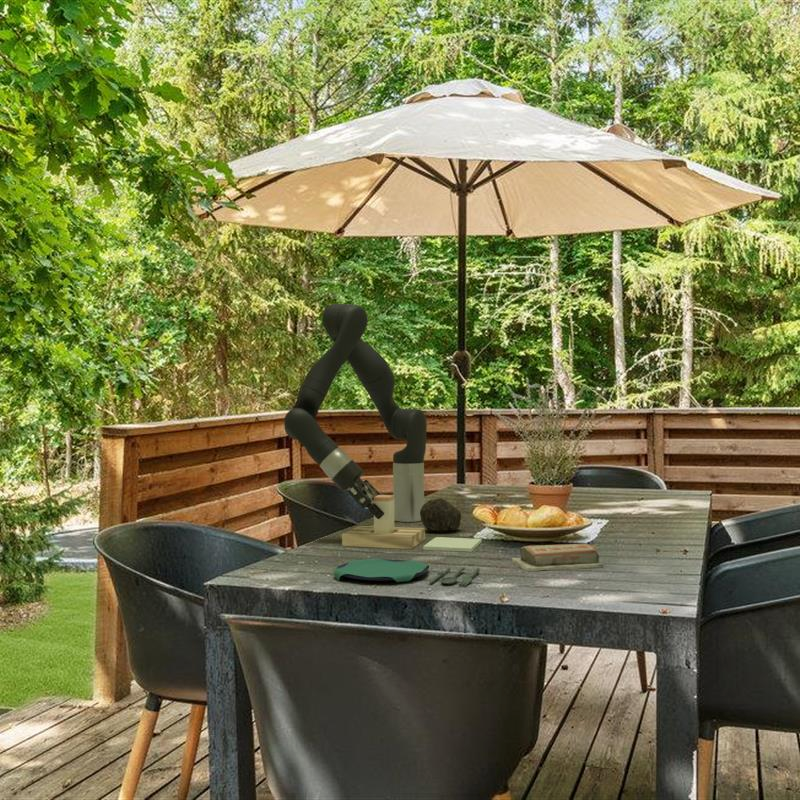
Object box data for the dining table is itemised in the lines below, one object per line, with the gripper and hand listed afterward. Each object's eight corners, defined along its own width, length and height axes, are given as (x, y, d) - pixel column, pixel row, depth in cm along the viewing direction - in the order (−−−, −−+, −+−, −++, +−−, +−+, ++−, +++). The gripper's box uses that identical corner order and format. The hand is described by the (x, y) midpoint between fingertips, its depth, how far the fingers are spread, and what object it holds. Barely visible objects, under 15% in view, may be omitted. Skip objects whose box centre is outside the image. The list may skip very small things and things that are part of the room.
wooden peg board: (359, 537, 245) (359, 525, 245) (424, 539, 240) (424, 528, 240) (342, 545, 231) (342, 534, 231) (411, 549, 227) (411, 536, 227)
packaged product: (584, 540, 213) (604, 547, 203) (584, 561, 213) (604, 569, 203) (511, 543, 208) (527, 551, 199) (511, 565, 209) (527, 573, 199)
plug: (379, 541, 239) (379, 494, 239) (394, 541, 238) (394, 495, 238) (373, 544, 234) (373, 497, 234) (389, 544, 233) (388, 497, 233)
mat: (436, 540, 239) (436, 537, 239) (481, 542, 236) (481, 538, 236) (423, 549, 226) (423, 546, 226) (471, 551, 223) (471, 548, 223)
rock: (467, 526, 257) (462, 491, 256) (452, 537, 247) (447, 501, 246) (434, 527, 261) (429, 493, 261) (418, 539, 251) (413, 503, 250)
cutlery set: (355, 565, 209) (354, 555, 208) (484, 573, 199) (484, 563, 199) (320, 583, 190) (320, 572, 190) (462, 593, 180) (462, 581, 180)
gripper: (344, 461, 230) (389, 508, 228) (357, 456, 244) (400, 500, 242) (324, 482, 231) (369, 528, 229) (338, 476, 245) (380, 520, 243)
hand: (385, 514), depth 236 cm, fingers open, 8 cm apart
